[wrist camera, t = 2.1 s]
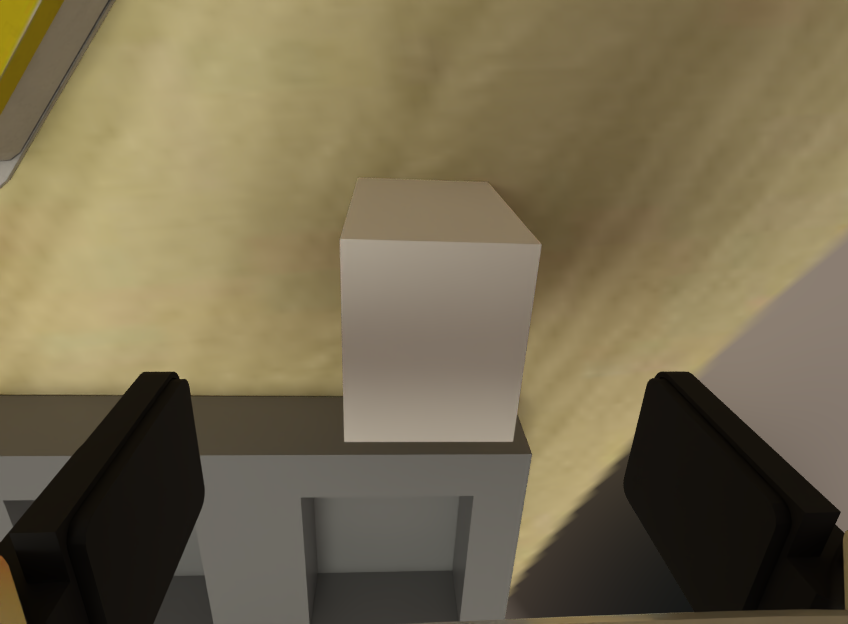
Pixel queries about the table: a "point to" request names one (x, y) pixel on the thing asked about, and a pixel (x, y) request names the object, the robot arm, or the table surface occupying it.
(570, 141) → the table surface
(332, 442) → the grey socket block
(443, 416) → the plug
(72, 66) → the emergency button
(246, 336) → the table surface
